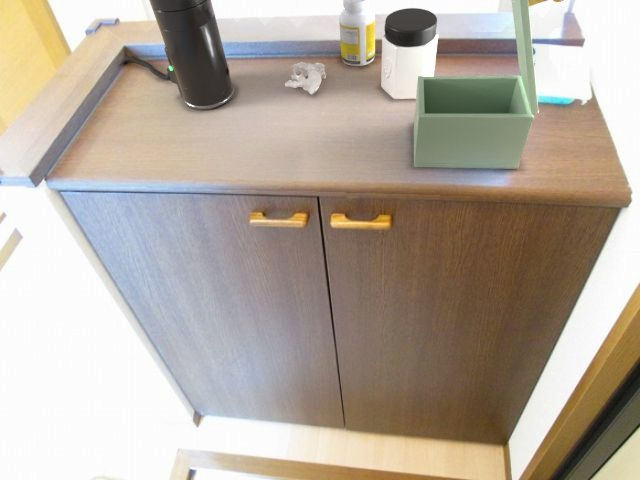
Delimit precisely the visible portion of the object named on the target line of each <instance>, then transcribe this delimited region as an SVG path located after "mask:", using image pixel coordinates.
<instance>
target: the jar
mask: <svg viewBox="0 0 640 480" xmlns="http://www.w3.org/2000/svg"><path fill="white" fill-rule="evenodd" d="M437 24H438V17H437V16H436V15H435V13H433V12H432V11H430V10H428V9H425V8H424V9H423V8H417V7H416V8H415V7H408V8H407V7H406V8H401V9H398V10H395V11H392V12H391V13H389V14H388V15H387V16H386V18H385V21H384V34H383V35H382V37H381V74H380V75H381V76H380V79H381V80H380V82H381V83H380V87H381V89H382V90H384V91H385V93H386V94H388V95H389V96H390V97H391V98H392V99H393V100H416V94H417V82H418V76H435V66H436V57H437V49H438V40H439V33H437V27H438V25H437Z"/></svg>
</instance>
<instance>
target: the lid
mask: <svg viewBox="0 0 640 480" xmlns="http://www.w3.org/2000/svg"><path fill="white" fill-rule="evenodd" d="M552 1H553V2H554V3H561V2H563V1H564V0H552ZM544 2H548V0H511V8H512V9H511V10H512V16H513V25H514V34H515V41H516V43H515V44H516V51H517V59H518V68H519V75H521V78H522V82H523V85H524V89H525V92H526V96H527V100H528V103H529V107H530V110H531V114H532V115H537V114H539V104H538V92H537V81H536V71H535V61H534V59H535V58H534V49H533V38H532V27H531V17H530V15H531V14H530V7H531V6H535V5H538V4H541V3H544Z"/></svg>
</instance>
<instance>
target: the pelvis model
mask: <svg viewBox="0 0 640 480" xmlns="http://www.w3.org/2000/svg"><path fill="white" fill-rule="evenodd" d="M325 68H326V65H325V64H323V63H321V62H317V61H316V62H315V63H311V62H307V63H306V62H304V61H300V62H298V63H293V64H292V72H293V74H291V75H290V78H291V79H292V80H291V79H288V80H287V81H286V82H284V86H285V87H286V88H294V89H296V88H302V89H303V90H304V91H307V92H308V93H309V95H312V96H313V95H314V94H315V93H316V92H317V91H318V90H319V87H320V85H322V80H326V79H327V73H326V70H325ZM297 72H300V73H299V75H298V74H297ZM306 77H307V78H306Z"/></svg>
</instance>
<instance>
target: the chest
mask: <svg viewBox="0 0 640 480" xmlns="http://www.w3.org/2000/svg"><path fill="white" fill-rule="evenodd" d="M534 119H535V114H533V115H532V114H531V110H530V107H529V103H528V100H527V96H526V92H525V89H524V85H523V82H522V78H521V75H520V74H518V75H515V74H513V75H505V74H504V75H434V76H418V82H417V94H416V99H415V107H414V117H413V167H414V168H439V169H441V168H443V169H445V168H446V169H497V170H498V169H502V170H503V169H504V170H518V169H519V166H520V163H521V160H522V157H523V153H524V150H525V148H526V145H527V140H528V138H529V134H530V131H531V129H532V125H533V122H534Z"/></svg>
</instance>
